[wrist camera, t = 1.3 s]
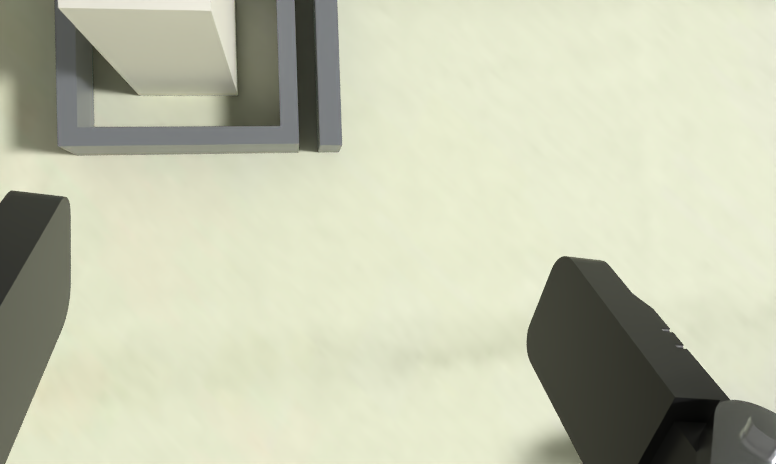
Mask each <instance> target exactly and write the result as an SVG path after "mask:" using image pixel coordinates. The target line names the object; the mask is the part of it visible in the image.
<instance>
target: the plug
mask: <svg viewBox="0 0 776 464" xmlns="http://www.w3.org/2000/svg"><path fill="white" fill-rule="evenodd" d="M58 8H59V9H60V10H61V12H62V13H63V14H64V15H65V16H66V17H67V18H68V19H69V20H70V21H71V22H72V23H73V24H74V26H75V27H76V28H77V29H78V30H79V31H80V32H81V33H82V34H83V35H84V36H85V37H86V39H87V40H88V41H89V42H90V43H91V44H92V45H93V46H94V47H95V48H96V49H97V50H98V51H99V53H100V54H101V55H102V56H103V57H104V58H105V59H106V60H107V61H108V62H109V63H110V64H111V65H112V67H113V68H114V69H115V70H116V71H117V72H118V73H119V74H120V75H121V76H122V77H123V78H124V80H125V81H126V82H127V83H128V84H129V85H130V86H131V87H132V88H133V89H134V90H135V91H136V92H137V94H138V95H139V96H238V82H237V48H236V14H235V0H58Z"/></svg>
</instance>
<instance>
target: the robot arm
mask: <svg viewBox="0 0 776 464" xmlns="http://www.w3.org/2000/svg"><path fill="white" fill-rule="evenodd" d="M70 288H71V215H70V203H69V200H68V198H67V197H63V196H54V195H45V194H37V193H28V192H20V191H10V192H8V194H7V195H6V196H5V197H4V199H3V200H2V201H1V203H0V464H5V463H6V460H7V458H8V456H9V453H10V451H11V449H12V446H13V444H14V442H15V439H16V437H17V434H18V432H19V430H20V427H21V425H22V423H23V420H24V418H25V415H26V413H27V411H28V408H29V406H30V404H31V401H32V399H33V397H34V394H35V392H36V389H37V387H38V385H39V382H40V380H41V378H42V375H43V373H44V371H45V368H46V366H47V363H48V361H49V359H50V356H51V354H52V352H53V349H54V347H55V345H56V342H57V340H58V337H59V335H60V333H61V330H62V328H63V325H64V322H65V319H66V315H67V311H68V305H69V299H70ZM669 329H670V328H669V327H668V326H667V325H666V324H665V322H664V321H663V320H662V319H661V318H660V316H659V315H658V314H657V313H656V312H655V311H654V309H653V308H651V307H650V306H649V305H647V304H646V303H644V302H643V301H642V300H640V299H639V298H638V297H636V296H635V295H634V294H632V292H631V291H630V290H629V289H628V288H627V286H626V285H625V284H624V283H623V281H622V280H621V279H620V278H619V277H618V275H617V274H616V273H615V272H614V271H613V269H612V268H611V267H610V266H609V265H608V264H607V263H606V262H604V261H601V260H593V259H584V258H576V257H567V256H564V257H561V258H559V259H558V260H557V261H556V262H555V264H554V266H553V268H552V270H551V272H550V275H549V277H548V280H547V282H546V285H545V287H544V290H543V292H542V295H541V297H540V300H539V303H538V305H537V308H536V310H535V313H534V315H533V318H532V320H531V323H530V325H529V329H528V333H527V353H528V357H529V360H530V362H531V364H532V366H533V368H534V370H535V372H536V374H537V376H538V378H539V380H540V382H541V384H542V386H543V387H544V389H545V391H546V393H547V395H548V397H549V399H550V401H551V403H552V405H553V407H554V409H555V411H556V412H557V414H558V416H559V418H560V420H561V422H562V424H563V426H564V428H565V430H566V432H567V434H568V436H569V437H570V439H571V441H572V443H573V445H574V447H575V449H576V451H577V453H578V455H579V457H580V459H581V461H582V462H583V464H776V413H774V412H772V411H770V410H768V409H766V408H764V407H761V406H759V405H756V404H753V403H750V402H745V401H740V400H730V399H729V398H728V397H727V396H726V394H725V393H724V392H723V391H722V390H721V388H720V387H719V386H718V385H717V384H716V383H715V381H714V380H713V379H712V378H711V377H710V375H709V374H708V373H707V372H706V371H705V370H704V368H703V367H702V366H701V365H700V364H699V362H698V361H697V360H696V359H695V358H694V357H693V355H692V354H691V353H690V352H689V351H688V350H687V349H683V344H682V342H681V341H680V340H679V339H678V338H677V337H676V335H675V334H674V333H673V332H669Z"/></svg>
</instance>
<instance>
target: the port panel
mask: <svg viewBox="0 0 776 464" xmlns="http://www.w3.org/2000/svg"><path fill="white" fill-rule="evenodd" d="M276 1H277V33H278V65H279V97H280V126H203V127H94V92H93V47H92V44H91V43H90V42H89V41H88V40H87V39H86V37H85V36H84V35H83V34H82V33H81V32H80V31H79V30H78V29H77V28H76V27H75V26H74V24H73V23H72V22H71V21H70V20H69V19H68V18H67V17H66V16H65V15H64V14H63V13H62V12H61V10H60V9H59V8H58V0H55V40H56V89H57V138H58V147H60V148H62V149H64V150H66V151H68V152H71V153H73V154H75V155H143V154H220V153H298V151H299V122H298V91H297V60H296V29H295V0H276ZM313 11H314V41H315V72H316V102H317V132H318V152H339V151H340V148H341V146H342V128H341V99H340V70H339V40H338V11H337V0H313Z"/></svg>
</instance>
